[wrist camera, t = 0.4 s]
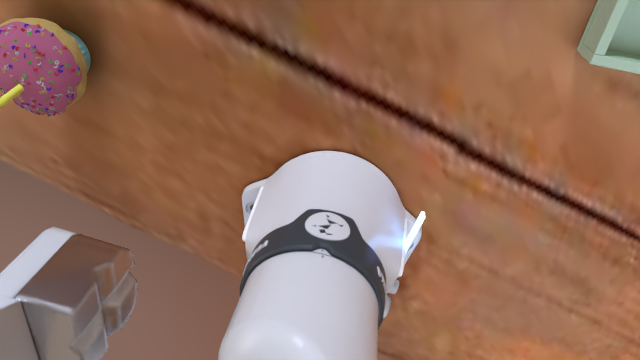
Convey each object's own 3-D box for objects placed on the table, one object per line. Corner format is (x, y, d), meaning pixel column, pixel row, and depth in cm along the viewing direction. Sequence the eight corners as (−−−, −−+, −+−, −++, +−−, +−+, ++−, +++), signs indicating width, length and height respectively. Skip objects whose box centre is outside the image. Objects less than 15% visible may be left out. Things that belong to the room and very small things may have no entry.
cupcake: (106, 106, 52) (32, 160, 42) (25, 81, 52) (-70, 130, 42) (110, 21, 48) (29, 59, 38) (21, -5, 48) (-85, 25, 38)
